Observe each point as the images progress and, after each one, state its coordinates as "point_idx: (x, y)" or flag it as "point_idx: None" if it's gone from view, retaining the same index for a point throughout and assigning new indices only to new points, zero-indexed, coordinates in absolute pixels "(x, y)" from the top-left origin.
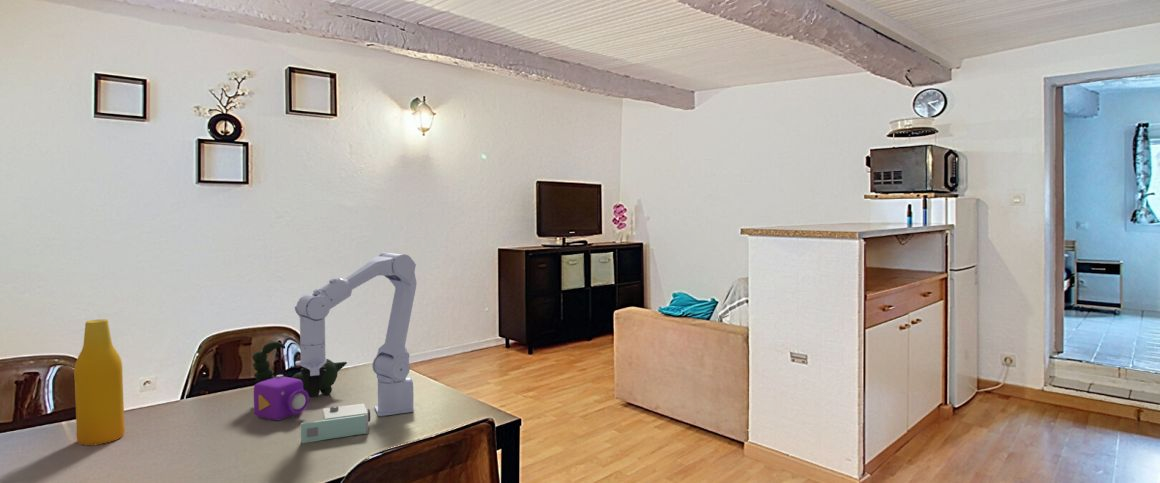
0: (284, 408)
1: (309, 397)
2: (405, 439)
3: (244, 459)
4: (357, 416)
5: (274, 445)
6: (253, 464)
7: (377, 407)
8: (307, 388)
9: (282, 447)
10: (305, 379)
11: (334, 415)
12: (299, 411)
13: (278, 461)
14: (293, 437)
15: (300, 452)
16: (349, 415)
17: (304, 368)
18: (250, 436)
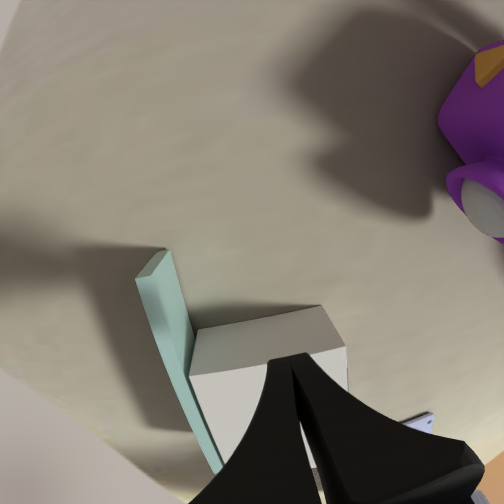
0: (471, 145)
1: (268, 361)
2: (166, 485)
3: (60, 85)
4: (208, 460)
5: (162, 147)
6: (19, 132)
7: (420, 423)
8: (259, 403)
9: (134, 185)
10: (216, 478)
11: (226, 403)
12: (460, 204)
13: (25, 205)
14: (238, 206)
15: (81, 261)
16: (216, 444)
17: (455, 492)
18: (292, 36)
